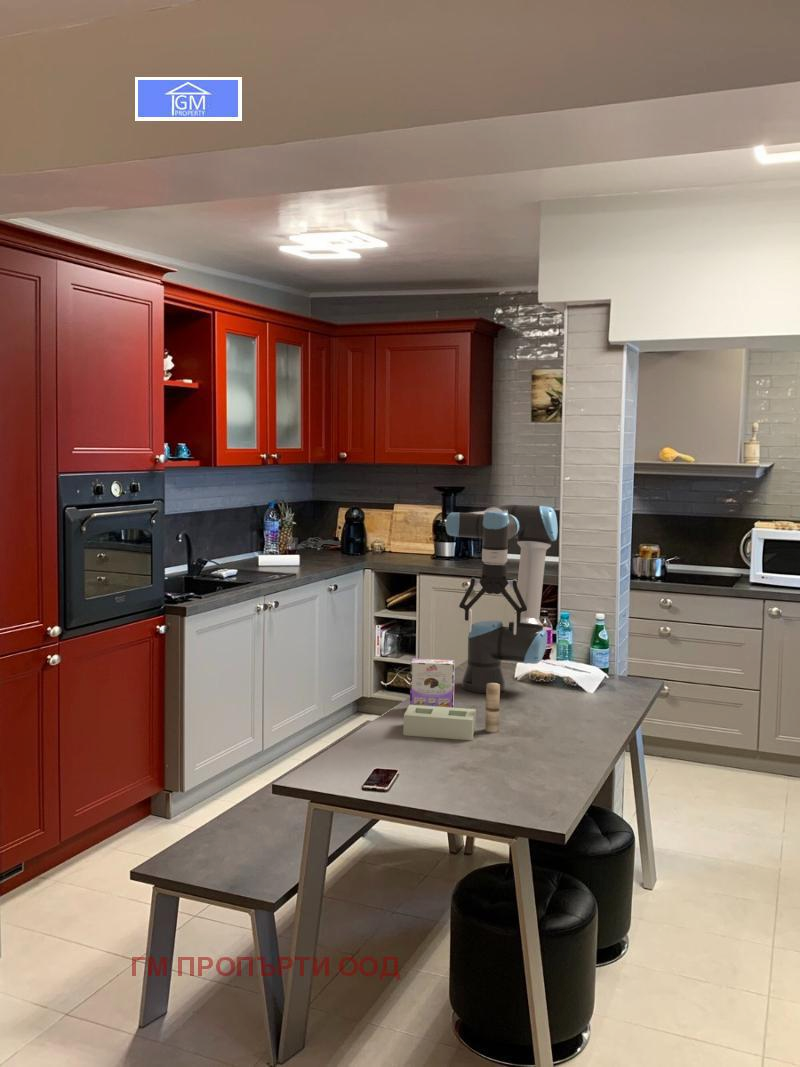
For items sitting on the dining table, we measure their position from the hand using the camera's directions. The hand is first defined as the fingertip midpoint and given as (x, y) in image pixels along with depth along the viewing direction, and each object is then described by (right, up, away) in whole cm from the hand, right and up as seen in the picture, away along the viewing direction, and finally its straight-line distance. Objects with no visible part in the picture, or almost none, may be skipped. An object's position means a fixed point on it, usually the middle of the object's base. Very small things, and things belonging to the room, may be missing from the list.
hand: (492, 632), depth 287 cm
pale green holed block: (-16, -29, -6) cm, 33 cm away
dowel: (-1, -29, -4) cm, 29 cm away
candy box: (-18, -27, +14) cm, 35 cm away
